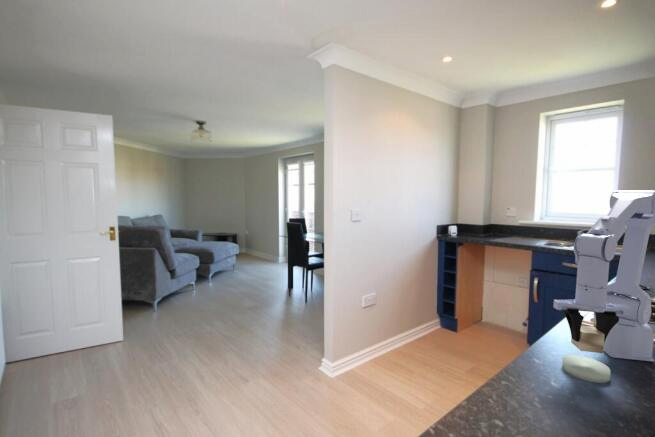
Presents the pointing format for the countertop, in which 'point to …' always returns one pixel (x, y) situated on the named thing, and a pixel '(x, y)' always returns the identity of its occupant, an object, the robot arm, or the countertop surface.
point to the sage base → (586, 368)
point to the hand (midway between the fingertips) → (587, 341)
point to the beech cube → (590, 340)
